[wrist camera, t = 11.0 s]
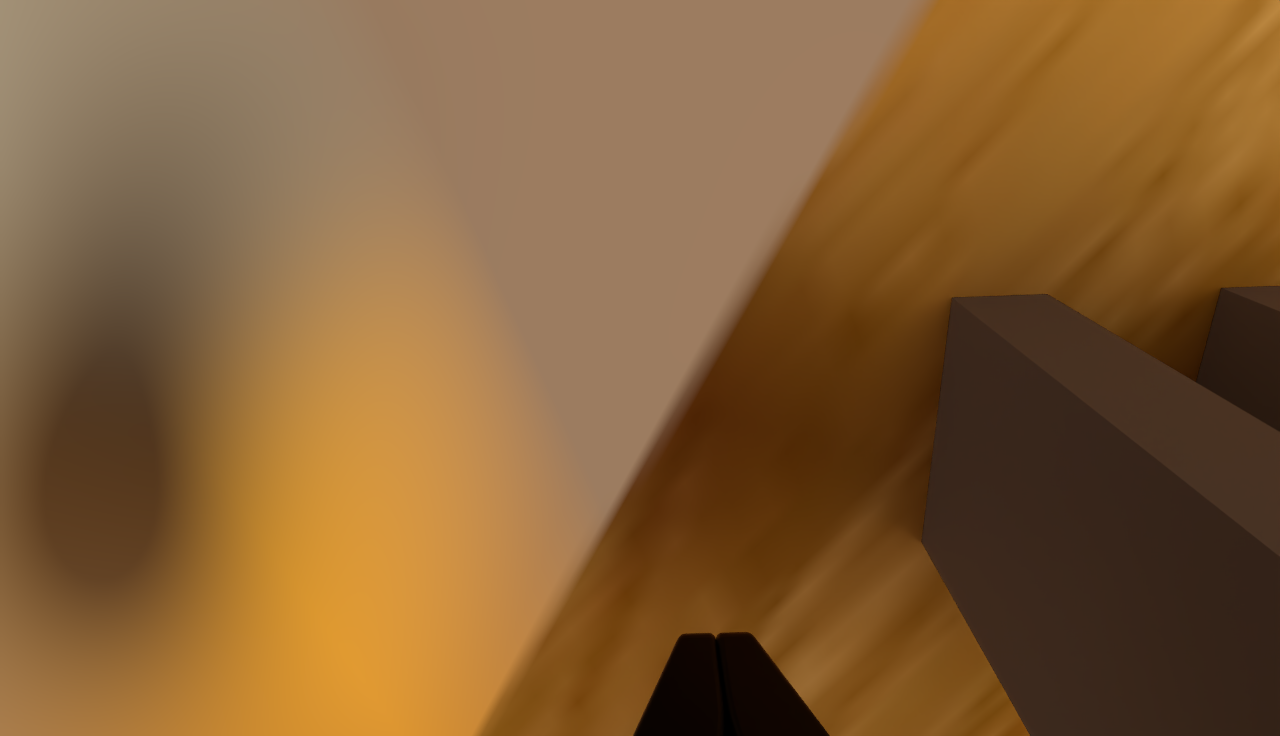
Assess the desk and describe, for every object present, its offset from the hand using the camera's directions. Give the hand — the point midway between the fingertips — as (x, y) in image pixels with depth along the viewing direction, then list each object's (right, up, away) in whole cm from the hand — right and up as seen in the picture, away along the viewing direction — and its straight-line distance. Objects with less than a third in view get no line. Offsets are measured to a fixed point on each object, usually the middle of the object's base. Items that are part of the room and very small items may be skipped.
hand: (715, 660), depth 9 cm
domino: (+5, +2, +5) cm, 8 cm away
